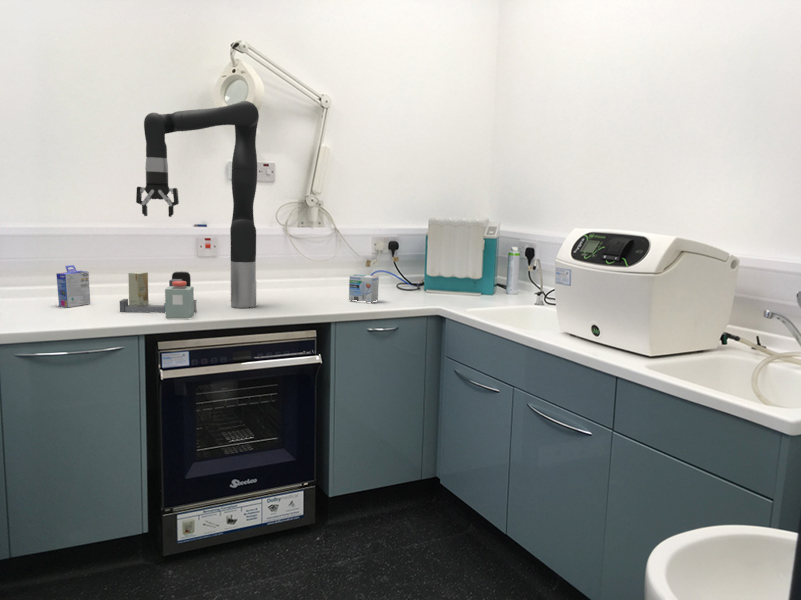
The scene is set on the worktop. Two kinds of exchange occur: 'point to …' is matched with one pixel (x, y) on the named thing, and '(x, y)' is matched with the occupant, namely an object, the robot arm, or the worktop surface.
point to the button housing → (179, 302)
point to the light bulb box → (363, 288)
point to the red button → (179, 284)
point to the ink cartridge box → (73, 287)
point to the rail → (143, 307)
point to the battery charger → (182, 277)
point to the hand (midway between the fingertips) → (157, 216)
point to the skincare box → (138, 288)
